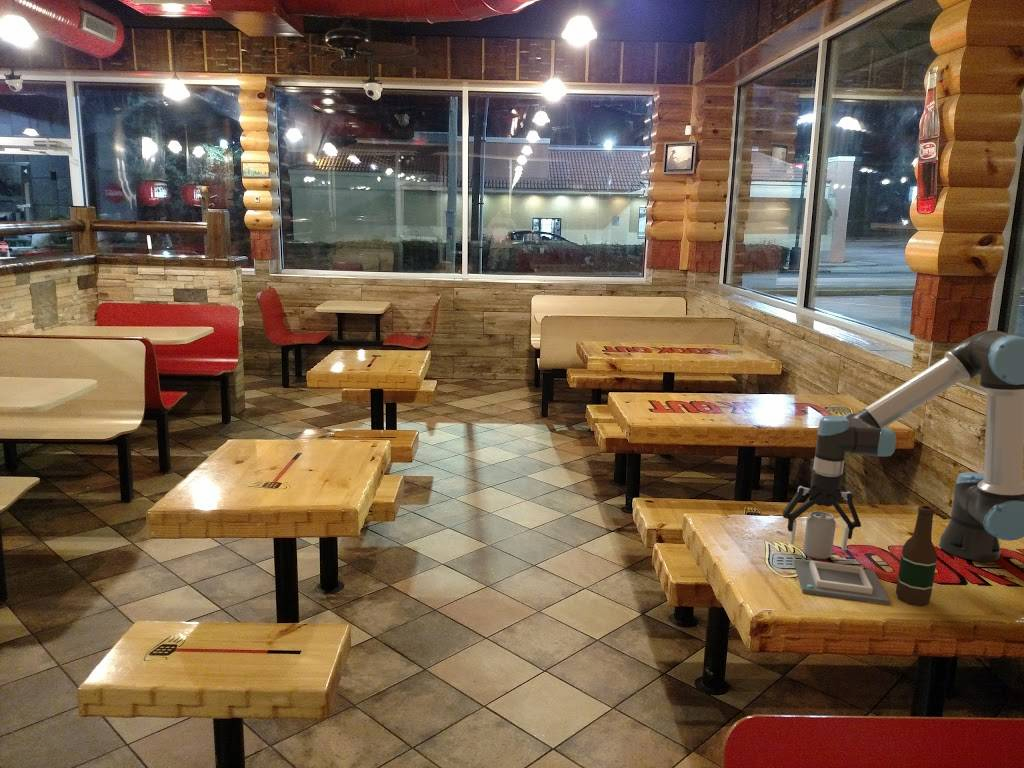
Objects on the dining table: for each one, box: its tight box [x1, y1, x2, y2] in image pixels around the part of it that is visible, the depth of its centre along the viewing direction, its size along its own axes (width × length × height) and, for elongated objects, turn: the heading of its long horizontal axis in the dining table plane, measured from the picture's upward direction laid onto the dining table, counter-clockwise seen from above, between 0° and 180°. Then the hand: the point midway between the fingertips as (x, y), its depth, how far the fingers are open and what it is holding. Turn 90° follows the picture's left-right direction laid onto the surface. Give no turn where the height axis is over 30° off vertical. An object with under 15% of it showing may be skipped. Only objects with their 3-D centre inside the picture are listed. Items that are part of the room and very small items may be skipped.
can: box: [802, 510, 837, 560], centre depth 215 cm, size 8×8×12 cm
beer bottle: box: [895, 505, 938, 607], centre depth 189 cm, size 8×8×24 cm
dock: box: [793, 559, 891, 605], centre depth 199 cm, size 20×18×2 cm
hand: (817, 545), depth 216 cm, fingers open, 13 cm apart
